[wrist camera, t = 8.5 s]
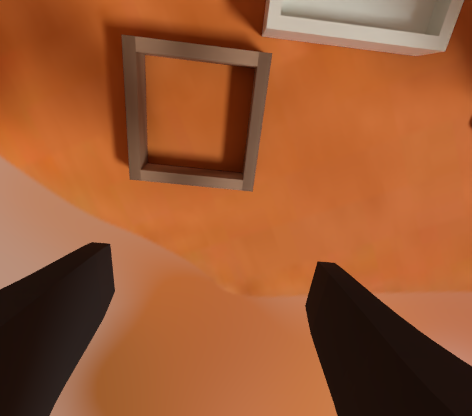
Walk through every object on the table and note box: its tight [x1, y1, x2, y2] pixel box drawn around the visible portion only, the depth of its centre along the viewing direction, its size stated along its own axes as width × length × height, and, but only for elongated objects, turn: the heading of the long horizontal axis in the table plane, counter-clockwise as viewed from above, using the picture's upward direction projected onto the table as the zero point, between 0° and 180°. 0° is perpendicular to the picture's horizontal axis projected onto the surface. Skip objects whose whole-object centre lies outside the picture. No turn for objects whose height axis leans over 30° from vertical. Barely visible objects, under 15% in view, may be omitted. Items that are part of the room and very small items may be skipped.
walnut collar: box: [122, 35, 272, 191], centre depth 17 cm, size 8×8×2 cm
